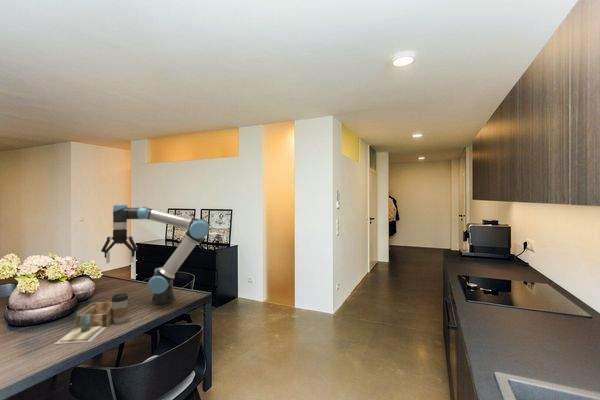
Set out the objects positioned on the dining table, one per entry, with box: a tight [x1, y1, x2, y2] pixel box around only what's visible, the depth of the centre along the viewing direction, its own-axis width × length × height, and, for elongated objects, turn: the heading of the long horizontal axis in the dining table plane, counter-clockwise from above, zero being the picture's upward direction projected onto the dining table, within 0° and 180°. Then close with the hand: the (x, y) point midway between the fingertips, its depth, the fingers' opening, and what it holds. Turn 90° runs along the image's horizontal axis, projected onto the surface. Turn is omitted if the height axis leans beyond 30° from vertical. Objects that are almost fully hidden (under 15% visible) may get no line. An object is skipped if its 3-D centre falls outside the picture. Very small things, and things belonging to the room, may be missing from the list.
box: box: [75, 301, 114, 329], centre depth 164 cm, size 15×16×8 cm
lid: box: [59, 314, 102, 342], centre depth 148 cm, size 12×14×9 cm
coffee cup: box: [110, 293, 129, 325], centre depth 165 cm, size 8×8×15 cm
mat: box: [53, 326, 108, 345], centre depth 148 cm, size 16×16×1 cm
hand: (119, 262), depth 181 cm, fingers open, 13 cm apart
